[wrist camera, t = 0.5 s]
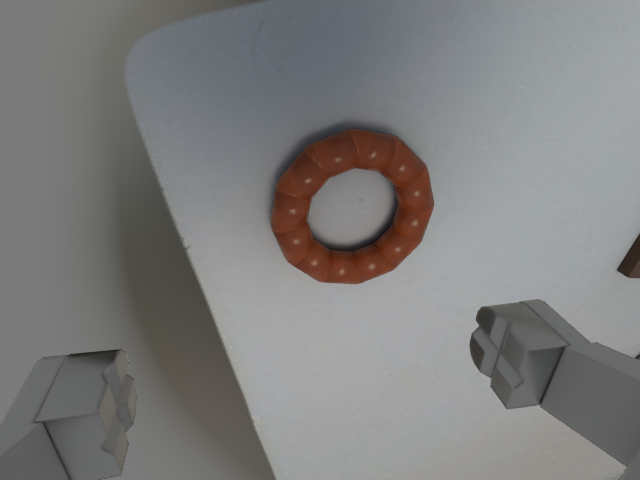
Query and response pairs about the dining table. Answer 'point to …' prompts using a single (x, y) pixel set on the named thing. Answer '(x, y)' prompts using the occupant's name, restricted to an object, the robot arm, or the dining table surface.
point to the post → (632, 262)
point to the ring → (335, 159)
